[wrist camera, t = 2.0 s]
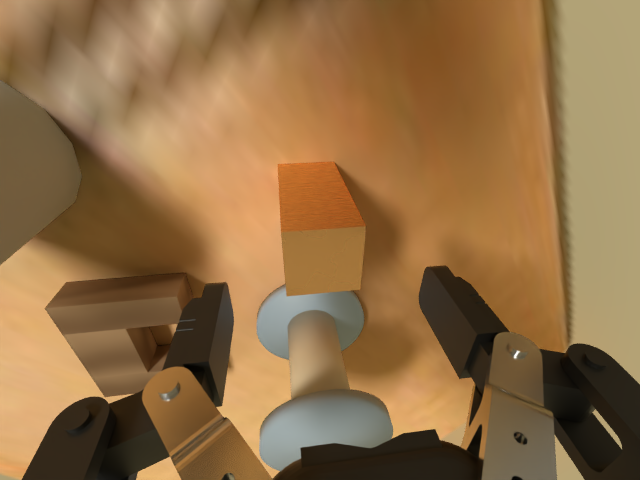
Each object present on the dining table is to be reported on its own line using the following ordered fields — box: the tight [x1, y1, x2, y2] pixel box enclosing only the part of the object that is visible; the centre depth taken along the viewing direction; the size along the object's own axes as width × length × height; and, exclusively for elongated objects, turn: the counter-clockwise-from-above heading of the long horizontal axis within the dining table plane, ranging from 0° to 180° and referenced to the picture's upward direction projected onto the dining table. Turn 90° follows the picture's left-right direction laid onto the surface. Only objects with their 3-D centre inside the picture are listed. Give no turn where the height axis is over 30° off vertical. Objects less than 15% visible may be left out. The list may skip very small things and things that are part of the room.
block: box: [278, 162, 366, 296], centre depth 17 cm, size 4×4×8 cm
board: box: [45, 273, 193, 397], centre depth 24 cm, size 10×8×2 cm
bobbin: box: [257, 284, 393, 471], centre depth 23 cm, size 9×9×10 cm
